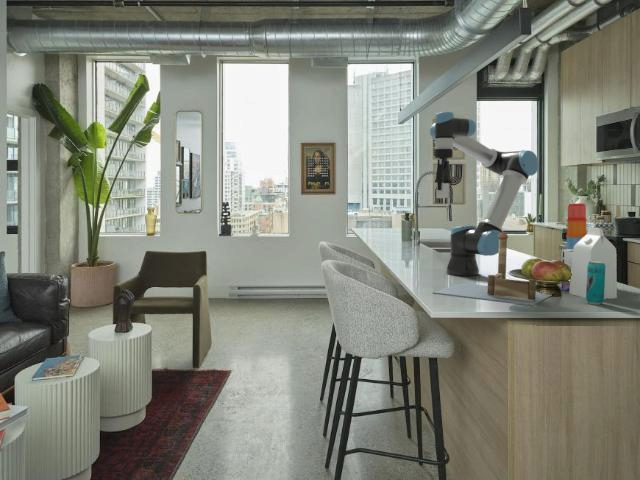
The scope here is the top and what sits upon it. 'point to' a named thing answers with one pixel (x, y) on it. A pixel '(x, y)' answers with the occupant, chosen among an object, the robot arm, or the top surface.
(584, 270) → the milk
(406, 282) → the top surface
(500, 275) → the folding fence panel
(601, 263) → the beverage can
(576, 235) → the stacking cups
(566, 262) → the candy box
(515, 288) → the fence fixed
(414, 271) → the top surface
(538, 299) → the card
